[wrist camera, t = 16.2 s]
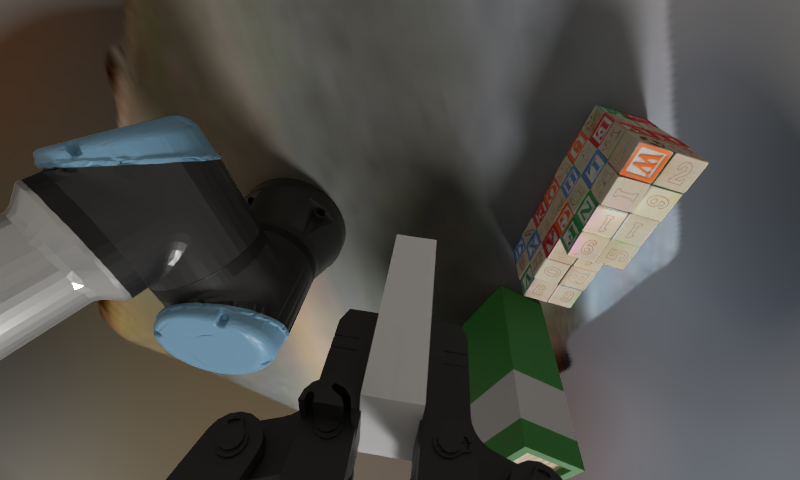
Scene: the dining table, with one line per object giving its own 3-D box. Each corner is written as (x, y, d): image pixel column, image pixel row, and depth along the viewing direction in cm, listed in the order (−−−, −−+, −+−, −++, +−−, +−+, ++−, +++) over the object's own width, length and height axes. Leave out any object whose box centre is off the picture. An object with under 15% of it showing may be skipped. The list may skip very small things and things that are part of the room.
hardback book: (477, 362, 67) (486, 518, 48) (441, 347, 66) (436, 500, 46) (540, 304, 57) (584, 470, 38) (500, 285, 56) (525, 446, 37)
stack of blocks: (553, 262, 53) (576, 328, 43) (511, 250, 52) (525, 314, 42) (648, 118, 40) (712, 163, 30) (595, 101, 40) (641, 141, 30)
